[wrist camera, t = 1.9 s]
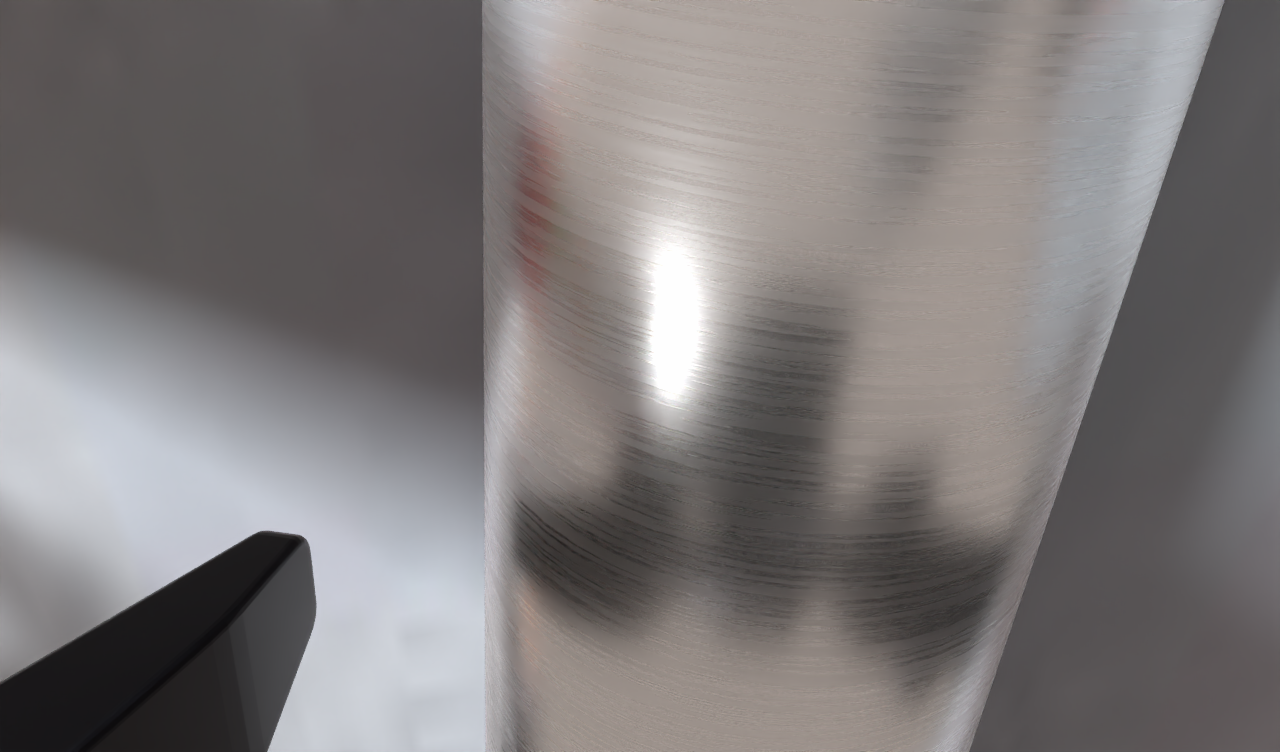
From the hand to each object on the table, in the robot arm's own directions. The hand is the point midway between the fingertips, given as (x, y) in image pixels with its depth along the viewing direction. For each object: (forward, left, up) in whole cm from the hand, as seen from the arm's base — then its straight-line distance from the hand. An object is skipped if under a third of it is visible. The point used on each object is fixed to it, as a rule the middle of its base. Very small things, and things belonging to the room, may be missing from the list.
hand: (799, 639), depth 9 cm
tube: (0, 0, -4) cm, 4 cm away
